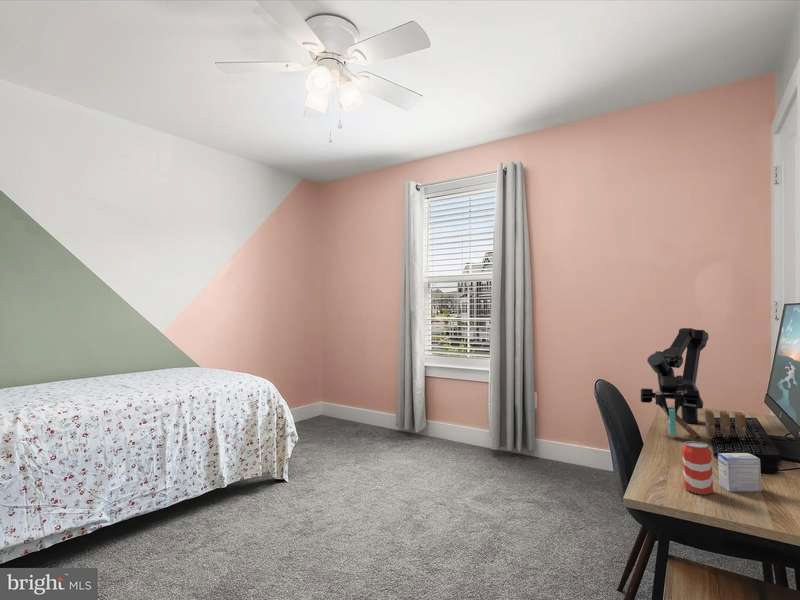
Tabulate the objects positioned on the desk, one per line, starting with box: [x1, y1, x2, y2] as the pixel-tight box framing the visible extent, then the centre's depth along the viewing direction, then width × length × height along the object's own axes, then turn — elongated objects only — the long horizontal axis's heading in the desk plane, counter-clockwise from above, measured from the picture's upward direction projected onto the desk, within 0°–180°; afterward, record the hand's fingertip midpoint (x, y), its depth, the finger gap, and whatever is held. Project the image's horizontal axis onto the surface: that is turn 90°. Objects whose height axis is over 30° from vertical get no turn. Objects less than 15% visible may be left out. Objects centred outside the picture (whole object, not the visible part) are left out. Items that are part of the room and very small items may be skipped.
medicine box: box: [717, 452, 762, 492], centre depth 119 cm, size 8×4×9 cm, turn 84°
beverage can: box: [681, 440, 714, 495], centre depth 119 cm, size 6×6×12 cm
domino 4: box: [734, 411, 747, 437], centre depth 162 cm, size 2×5×9 cm, turn 156°
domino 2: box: [704, 410, 716, 440], centre depth 166 cm, size 2×5×9 cm, turn 156°
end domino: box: [667, 407, 677, 437], centre depth 166 cm, size 2×5×9 cm, turn 156°
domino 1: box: [675, 414, 699, 438], centre depth 169 cm, size 2×5×9 cm
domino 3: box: [719, 410, 731, 436], centre depth 164 cm, size 2×5×9 cm, turn 156°
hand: (672, 416), depth 165 cm, fingers closed on end domino, 2 cm apart
